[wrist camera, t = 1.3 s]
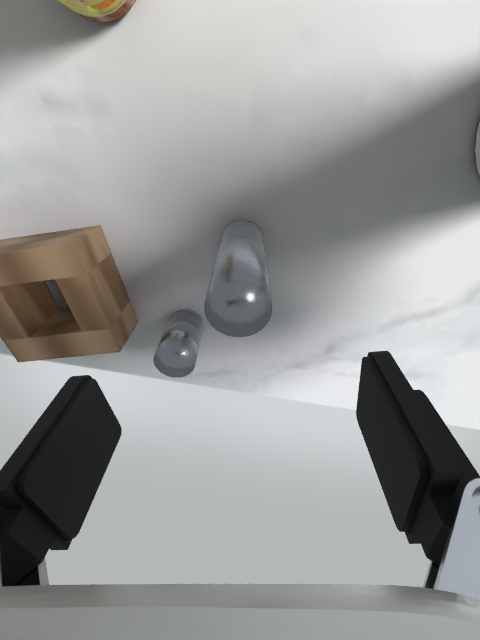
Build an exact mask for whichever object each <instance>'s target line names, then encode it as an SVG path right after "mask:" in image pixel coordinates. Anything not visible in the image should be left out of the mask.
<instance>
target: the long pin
mask: <svg viewBox="0 0 480 640" xmlns="http://www.w3.org/2000/svg"><path fill="white" fill-rule="evenodd" d="M271 313H272V303H271V296H270V289H269V282H268V274H267V267H266V260H265V253H264V245H263V238H262V234H261V231H260V230H259V228H258V227H257V226H256V225H255V224H254V223H252V222H250V221H246V220H238V221H234V222H232V223H231V224H229V225H228V226H227V227H226V229H225V230H224V232H223V235H222V239H221V243H220V246H219V250H218V254H217V258H216V262H215V266H214V270H213V274H212V278H211V281H210V285H209V289H208V293H207V297H206V301H205V314H206V317H207V319H208V321H209V322H210V324H211V325H212V326H213V327H214V328H215V329H216V330H218V331H219V332H221V333H223V334H225V335H228V336H233V337H245V336H249V335H252V334H255V333H257V332H258V331H260V330H261V329H262V328H263V327H264V326H265V325H266V324H267V323H268V321H269V319H270V317H271Z"/></svg>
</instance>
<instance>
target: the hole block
mask: <svg viewBox="0 0 480 640" xmlns="http://www.w3.org/2000/svg"><path fill="white" fill-rule="evenodd" d="M53 279H55V281H56V283H57V284H58V286H59V288H60V290H61V292H62V294H63V296H64V298H65V300H66V302H67V304H68V306H69V308H67V309H59V307H58V305H57V303H56V301H55V300H54V298H53V296H52V294H51V292H50V290H49V289H48V287H47V285H46V283H45V280H53ZM136 324H137V319H136V316H135V314H134V311H133V309H132V306H131V304H130V301H129V298H128V296H127V293H126V291H125V288H124V285H123V283H122V280H121V278H120V275H119V273H118V270H117V267H116V265H115V262H114V260H113V257H112V255H111V252H110V249H109V247H108V244H107V242H106V239H105V237H104V234H103V231H102V229H101V226H93V227H86V228H80V229H73V230H66V231H59V232H52V233H45V234H38V235H32V236H25V237H18V238H11V239H4V240H0V337H1V339H2V340H3V341H4V343H5V344H6V346H7V347H8V349H9V350H10V351H11V353H12V354H13V356H14V357H15V358H16V360H17V361H18V362H25V361H35V360H45V359H55V358H64V357H74V356H84V355H94V354H104V353H114V352H120V351H121V349H122V348H123V346H124V344H125V343H126V341H127V339H128V337H129V336H130V334H131V332H132V331H133V329H134V327H135V326H136Z"/></svg>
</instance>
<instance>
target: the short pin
mask: <svg viewBox="0 0 480 640" xmlns="http://www.w3.org/2000/svg"><path fill="white" fill-rule="evenodd" d="M203 328H204V324H203V321H202V319H201V317H200V316H199V315H198V314H196V313H195V312H193V311H190V310H180V311H177V312H175V313H174V314H173V315H172V316H171V317H170V320H169V322H168V324H167V327H166V329H165V331H164V334H163V336H162V339H161V341H160V343H159V346H158V348H157V350H156V353H155V355H154V364H155V366H156V368H157V369H158V370H159V371H160V372H161V373H163V374H165V375H167V376H170V377H184V376H186V375H188V374H190V373H191V372H192V371H193V369H194V367H195V362H196V358H197V354H198V349H199V345H200V341H201V337H202V332H203Z"/></svg>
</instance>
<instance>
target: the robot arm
mask: <svg viewBox="0 0 480 640" xmlns="http://www.w3.org/2000/svg"><path fill="white" fill-rule="evenodd" d="M475 154H476V166H477V169H478V172H479V175H480V123H479V126H478V130H477V137H476V146H475ZM356 415H357V421H358V424H359V427H360V429H361V432H362V435H363V437H364V440H365V443H366V446H367V448H368V451H369V454H370V456H371V459H372V462H373V464H374V467H375V470H376V473H377V475H378V478H379V481H380V484H381V486H382V489H383V492H384V495H385V497H386V500H387V503H388V506H389V508H390V511H391V514H392V516H393V519H394V522H395V524H396V527H397V529H398V530H399V531H400V532H401V531H403V532H404V531H405V534H406V536H407V539H408V542H409V544H418V543H421V545H422V547H423V550H424V552H425V555H426V557H427V558H428V559H430V560H431V562H430V565H429V568H428V571H427V575H426V578H425V582H424V585H423V588H421V587H408V586H395V585H354V584H120V585H119V584H117V585H116V584H113V585H49V581H48V575H47V568H46V562H45V555H46V553H47V551H48V549H49V548H50V549H51V550H67V549H68V548H69V545H70V543H71V541H72V539H73V538H75V537H76V536H77V534H78V533H79V531H80V529H81V526H82V524H83V522H84V519H85V517H86V515H87V512H88V510H89V508H90V506H91V503H92V501H93V499H94V496H95V494H96V492H97V489H98V487H99V485H100V483H101V480H102V478H103V476H104V473H105V471H106V469H107V466H108V464H109V462H110V459H111V457H112V455H113V452H114V450H115V448H116V446H117V443H118V441H119V439H120V436H121V426H120V424H119V422H118V420H117V418H116V416H115V415H114V413H113V411H112V409H111V407H110V406H109V404H108V402H107V400H106V398H105V396H104V394H103V392H102V391H101V389H100V387H99V385H98V383H97V381H96V380H95V379H92V378H91V376H89V375H84V376H73V377H70V378H69V379H68V381H67V382H66V383H65V385H64V386H63V387H62V389H61V390H60V392H59V393H58V394H57V395H56V397H55V398H54V399H53V401H52V402H51V403H50V405H49V406H48V407H47V409H46V410H45V411H44V413H43V414H42V415H41V417H40V418H39V419H38V421H37V422H36V423H35V425H34V426H33V428H32V429H31V430H30V431H29V433H28V434H27V435H26V437H25V438H24V440H23V441H22V442H21V444H20V445H19V446H18V448H17V449H16V450H15V452H14V453H13V454H12V456H11V457H10V458H9V460H8V461H7V462H6V464H5V465H4V466H3V468H2V469H1V471H0V640H480V476H479V474H478V473H477V471H476V470H475V468H474V467H473V466H472V464H471V462H470V461H469V459H468V458H467V456H466V455H465V453H464V452H463V450H462V449H461V447H460V446H459V444H458V443H457V441H456V440H455V438H454V437H453V435H452V434H451V432H450V431H449V429H448V428H447V426H446V425H445V423H444V422H443V420H442V419H441V417H440V416H439V414H438V413H437V411H436V410H435V408H434V407H433V405H432V404H431V402H430V401H429V399H428V398H427V396H426V395H425V394H424V392H422V391H421V390H413V389H412V387H411V386H410V384H409V382H408V381H407V379H406V378H405V376H404V375H403V373H402V371H401V370H400V368H399V367H398V365H397V363H396V362H395V360H394V359H393V357H392V355H391V354H390V353H389V352H388V351H378V352H369V353H368V356H367V357H363V358H362V365H361V374H360V383H359V392H358V401H357V410H356Z"/></svg>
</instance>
